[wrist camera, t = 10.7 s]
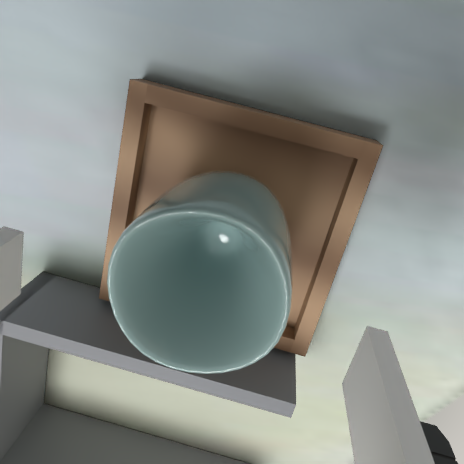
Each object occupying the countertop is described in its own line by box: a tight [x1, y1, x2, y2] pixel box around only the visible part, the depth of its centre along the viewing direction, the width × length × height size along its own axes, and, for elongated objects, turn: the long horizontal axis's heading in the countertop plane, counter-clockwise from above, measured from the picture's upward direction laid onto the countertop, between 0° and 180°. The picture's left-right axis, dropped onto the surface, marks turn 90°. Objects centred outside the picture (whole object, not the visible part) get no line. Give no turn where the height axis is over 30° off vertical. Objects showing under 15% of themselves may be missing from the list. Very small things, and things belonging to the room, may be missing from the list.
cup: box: [107, 171, 293, 374], centre depth 22 cm, size 8×8×10 cm
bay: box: [0, 272, 296, 464], centre depth 30 cm, size 13×18×6 cm
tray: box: [99, 79, 383, 356], centre depth 26 cm, size 14×14×2 cm
